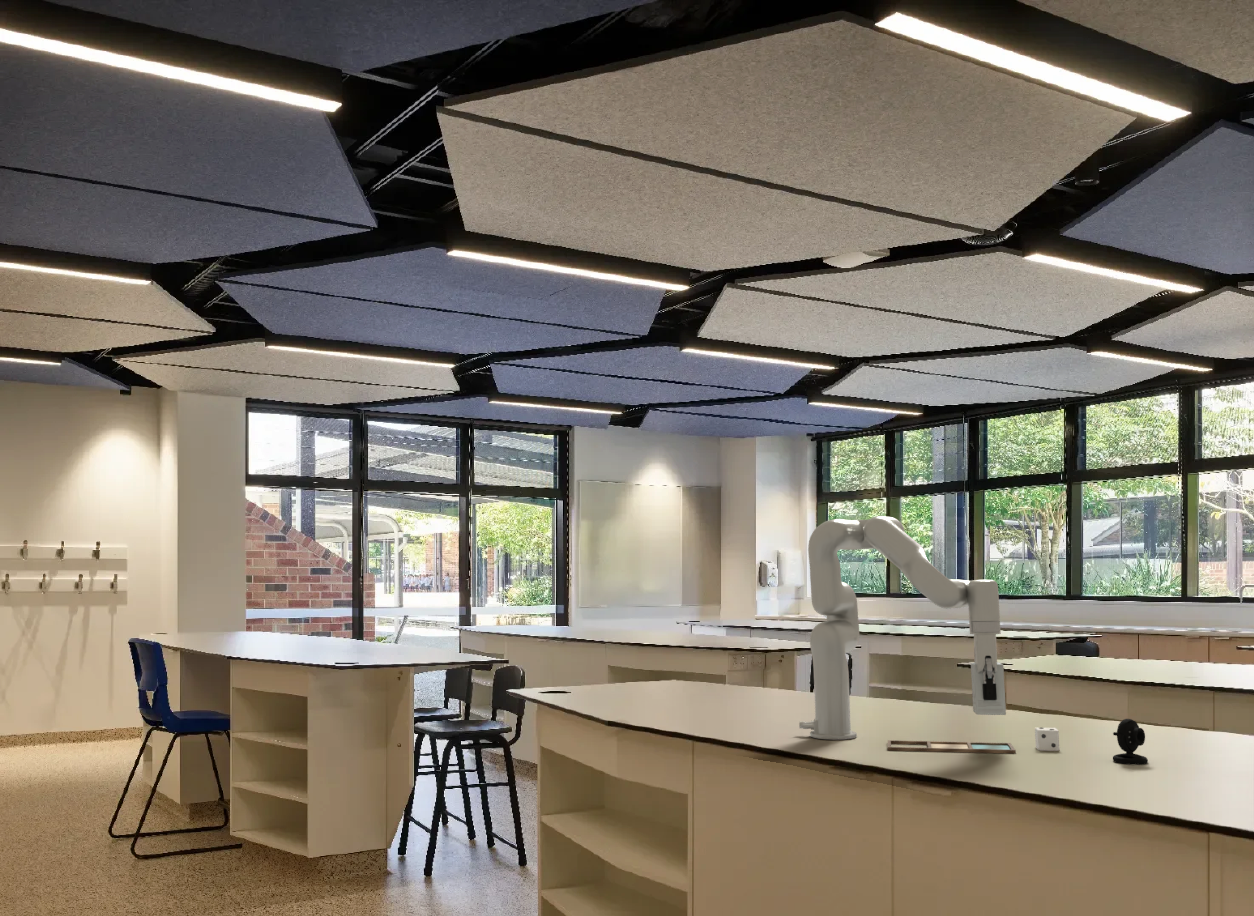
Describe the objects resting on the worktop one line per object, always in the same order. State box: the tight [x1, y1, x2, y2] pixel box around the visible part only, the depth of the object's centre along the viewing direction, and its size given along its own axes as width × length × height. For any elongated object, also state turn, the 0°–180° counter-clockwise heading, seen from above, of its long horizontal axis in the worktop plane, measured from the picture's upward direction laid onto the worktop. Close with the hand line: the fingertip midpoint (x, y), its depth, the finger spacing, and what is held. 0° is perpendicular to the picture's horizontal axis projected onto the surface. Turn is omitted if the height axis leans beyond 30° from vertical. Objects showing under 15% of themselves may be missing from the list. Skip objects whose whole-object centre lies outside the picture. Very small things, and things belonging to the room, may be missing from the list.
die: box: [1034, 726, 1061, 752], centre depth 275 cm, size 5×5×5 cm
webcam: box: [1112, 718, 1149, 766], centre depth 255 cm, size 8×8×10 cm
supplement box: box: [970, 661, 1007, 716], centre depth 276 cm, size 7×7×13 cm
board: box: [887, 739, 1017, 755], centre depth 277 cm, size 31×12×1 cm, turn 77°
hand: (988, 697), depth 276 cm, fingers closed on supplement box, 7 cm apart
